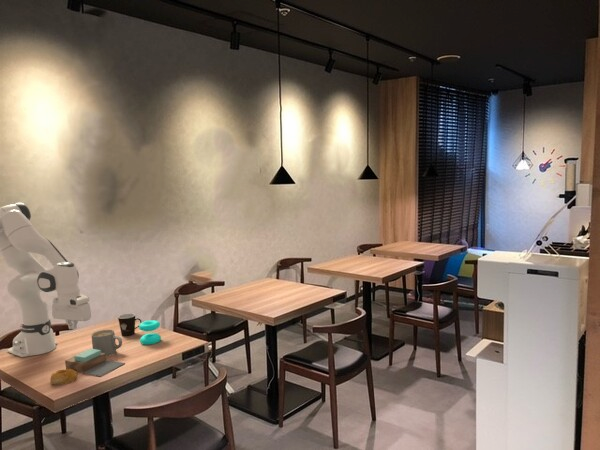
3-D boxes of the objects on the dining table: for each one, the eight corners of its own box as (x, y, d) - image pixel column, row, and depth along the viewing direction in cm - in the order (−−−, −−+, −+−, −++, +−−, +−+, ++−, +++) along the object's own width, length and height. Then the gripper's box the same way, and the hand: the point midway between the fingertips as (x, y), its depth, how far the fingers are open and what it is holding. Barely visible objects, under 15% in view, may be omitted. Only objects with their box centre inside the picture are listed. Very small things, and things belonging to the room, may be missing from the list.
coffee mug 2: (116, 335, 248) (114, 317, 247) (130, 330, 255) (128, 312, 254) (129, 339, 242) (127, 320, 241) (143, 334, 249) (142, 315, 247)
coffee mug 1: (88, 357, 220) (86, 336, 219) (102, 349, 229) (100, 329, 228) (114, 358, 217) (112, 337, 216) (126, 350, 226) (125, 330, 225)
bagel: (82, 374, 201) (80, 363, 201) (70, 385, 190) (69, 374, 190) (58, 375, 201) (57, 364, 200) (45, 387, 190) (44, 376, 189)
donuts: (154, 325, 230) (135, 325, 231) (156, 345, 231) (136, 345, 232) (162, 319, 240) (143, 319, 241) (164, 338, 241) (145, 338, 242)
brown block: (66, 369, 206) (65, 360, 206) (88, 359, 217) (87, 350, 217) (84, 372, 202) (83, 363, 202) (106, 362, 213) (105, 353, 213)
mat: (82, 373, 201) (82, 372, 201) (107, 361, 214) (107, 360, 214) (100, 376, 197) (100, 375, 197) (125, 363, 210) (125, 363, 210)
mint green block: (74, 360, 206) (74, 356, 206) (91, 352, 214) (90, 348, 214) (84, 362, 203) (84, 357, 203) (101, 354, 212) (100, 350, 211)
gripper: (46, 299, 210) (50, 329, 212) (80, 301, 202) (83, 333, 203) (58, 295, 216) (62, 325, 217) (92, 297, 208) (95, 328, 209)
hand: (72, 329), depth 210 cm, fingers closed
